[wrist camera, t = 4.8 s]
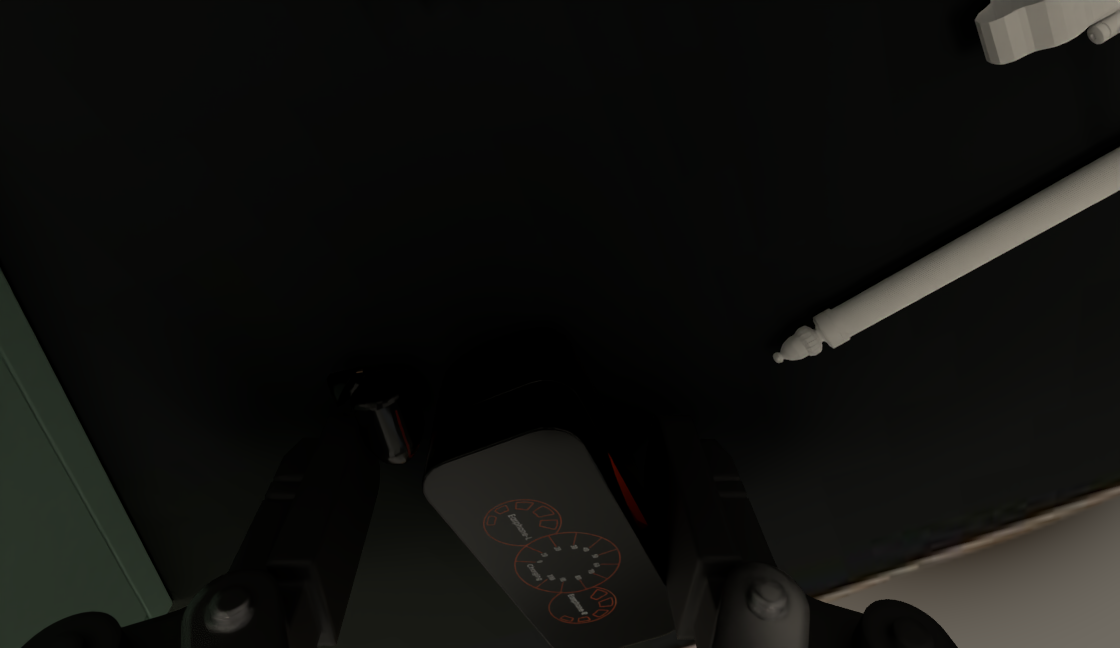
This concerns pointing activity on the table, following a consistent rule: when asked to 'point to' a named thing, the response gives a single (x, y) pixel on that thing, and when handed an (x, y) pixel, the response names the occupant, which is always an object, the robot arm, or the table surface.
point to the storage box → (58, 505)
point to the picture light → (1006, 35)
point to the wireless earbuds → (530, 484)
